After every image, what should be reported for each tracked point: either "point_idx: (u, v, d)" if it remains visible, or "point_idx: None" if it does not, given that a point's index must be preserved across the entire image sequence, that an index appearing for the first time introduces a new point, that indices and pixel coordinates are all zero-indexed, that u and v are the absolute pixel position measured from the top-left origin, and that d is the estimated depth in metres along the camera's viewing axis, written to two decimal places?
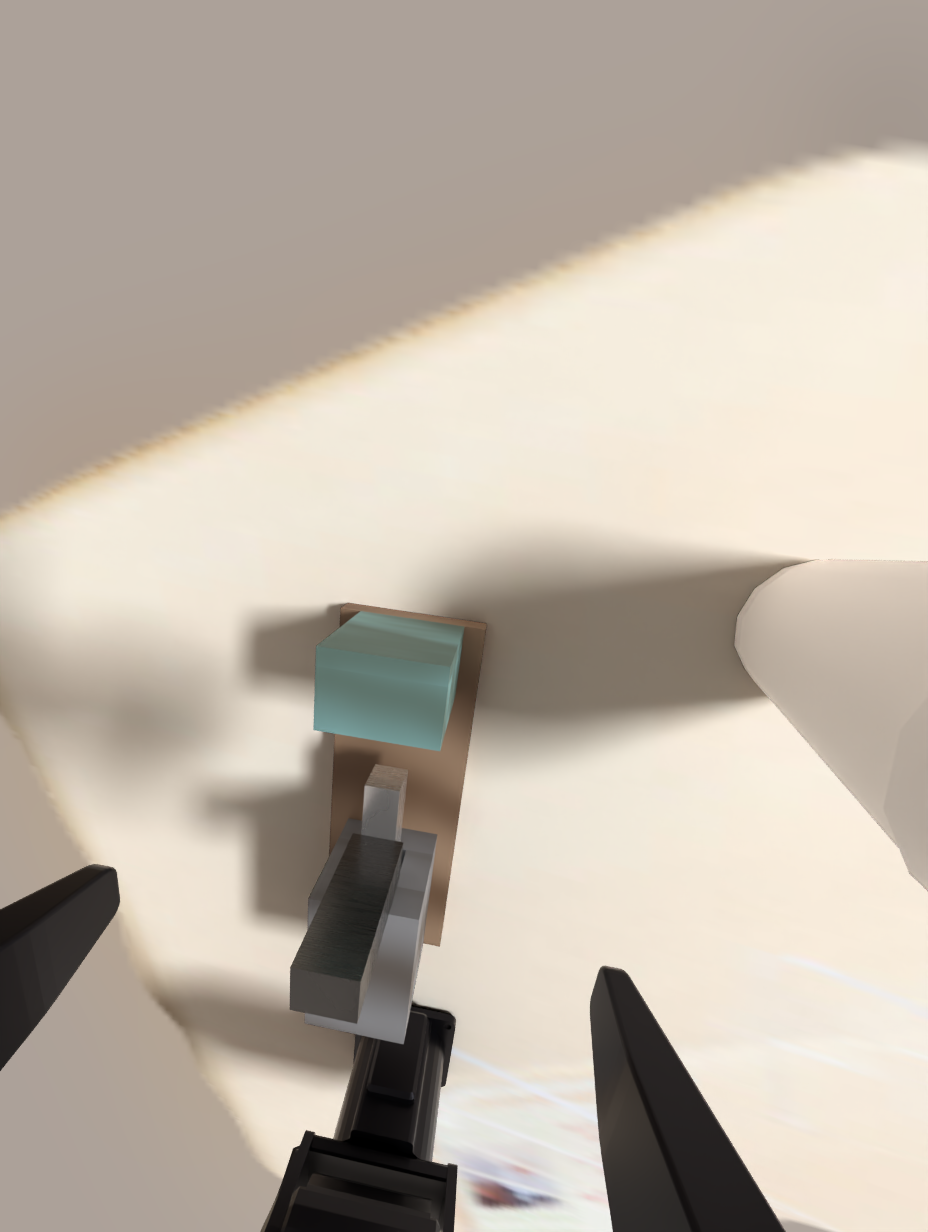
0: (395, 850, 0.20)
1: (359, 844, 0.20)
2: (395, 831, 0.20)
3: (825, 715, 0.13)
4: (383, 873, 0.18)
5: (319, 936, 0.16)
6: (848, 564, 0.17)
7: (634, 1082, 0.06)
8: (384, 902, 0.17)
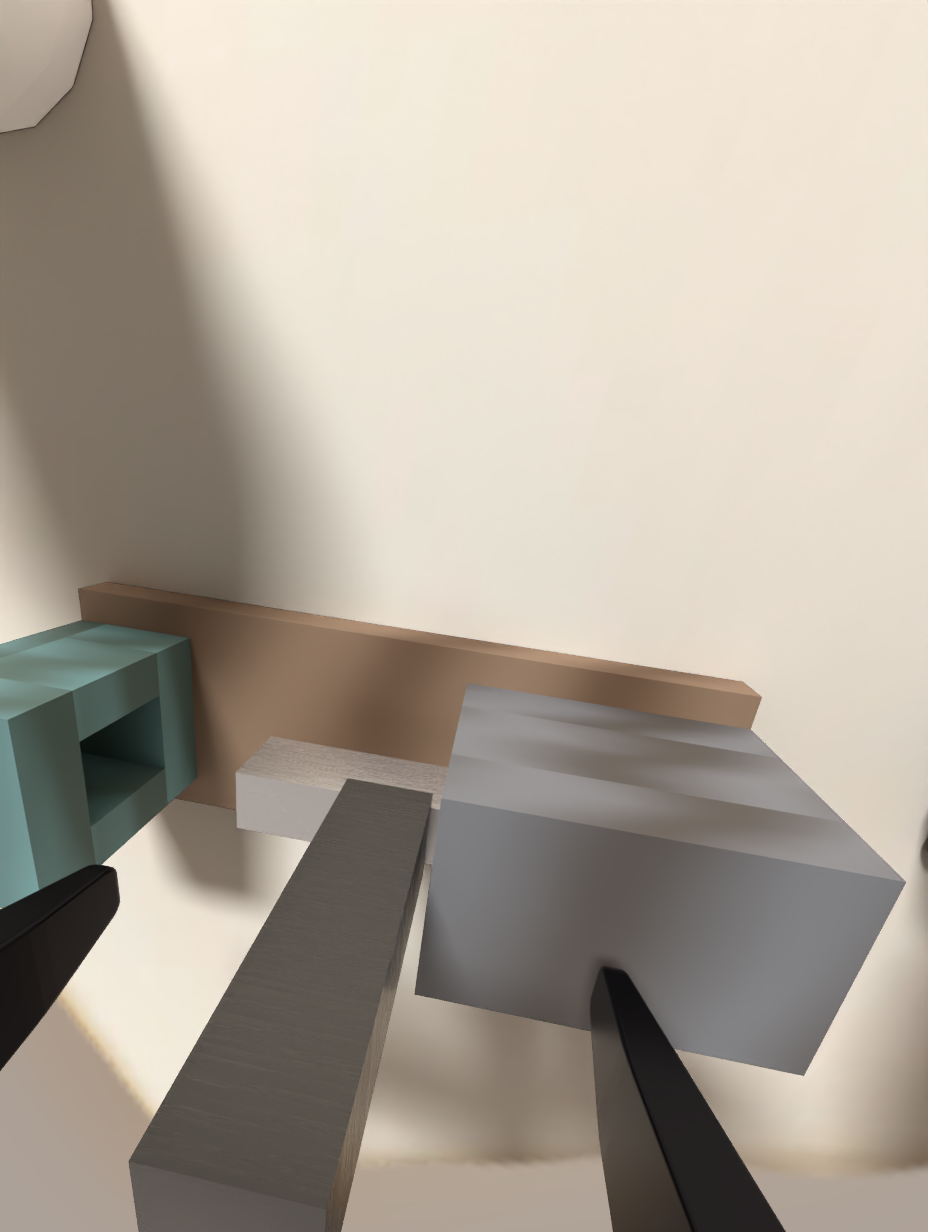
0: None
1: None
2: (328, 788, 0.10)
3: None
4: None
5: None
6: None
7: (634, 1081, 0.06)
8: (282, 897, 0.07)
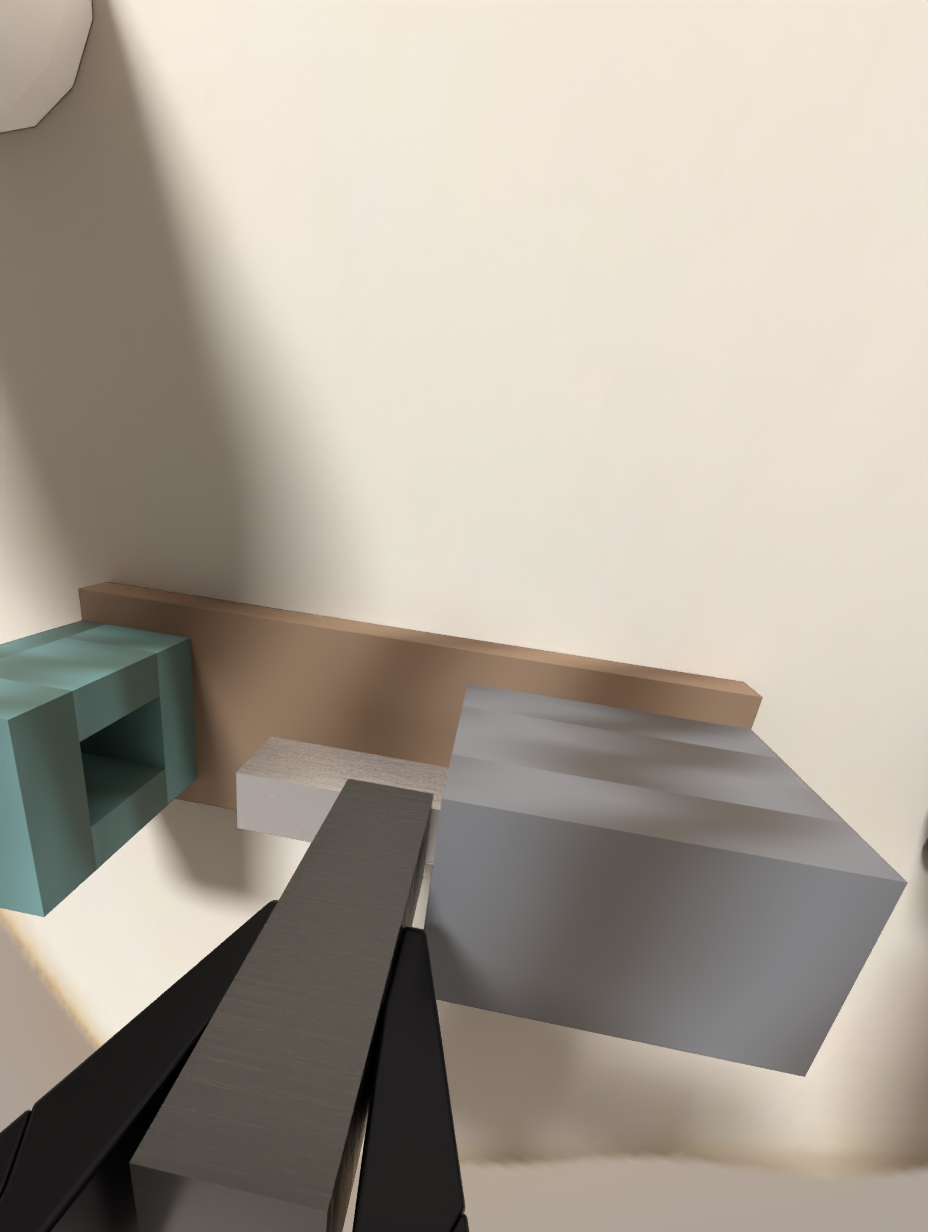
0: None
1: None
2: (329, 788, 0.10)
3: None
4: None
5: None
6: None
7: (381, 1027, 0.06)
8: (283, 898, 0.07)
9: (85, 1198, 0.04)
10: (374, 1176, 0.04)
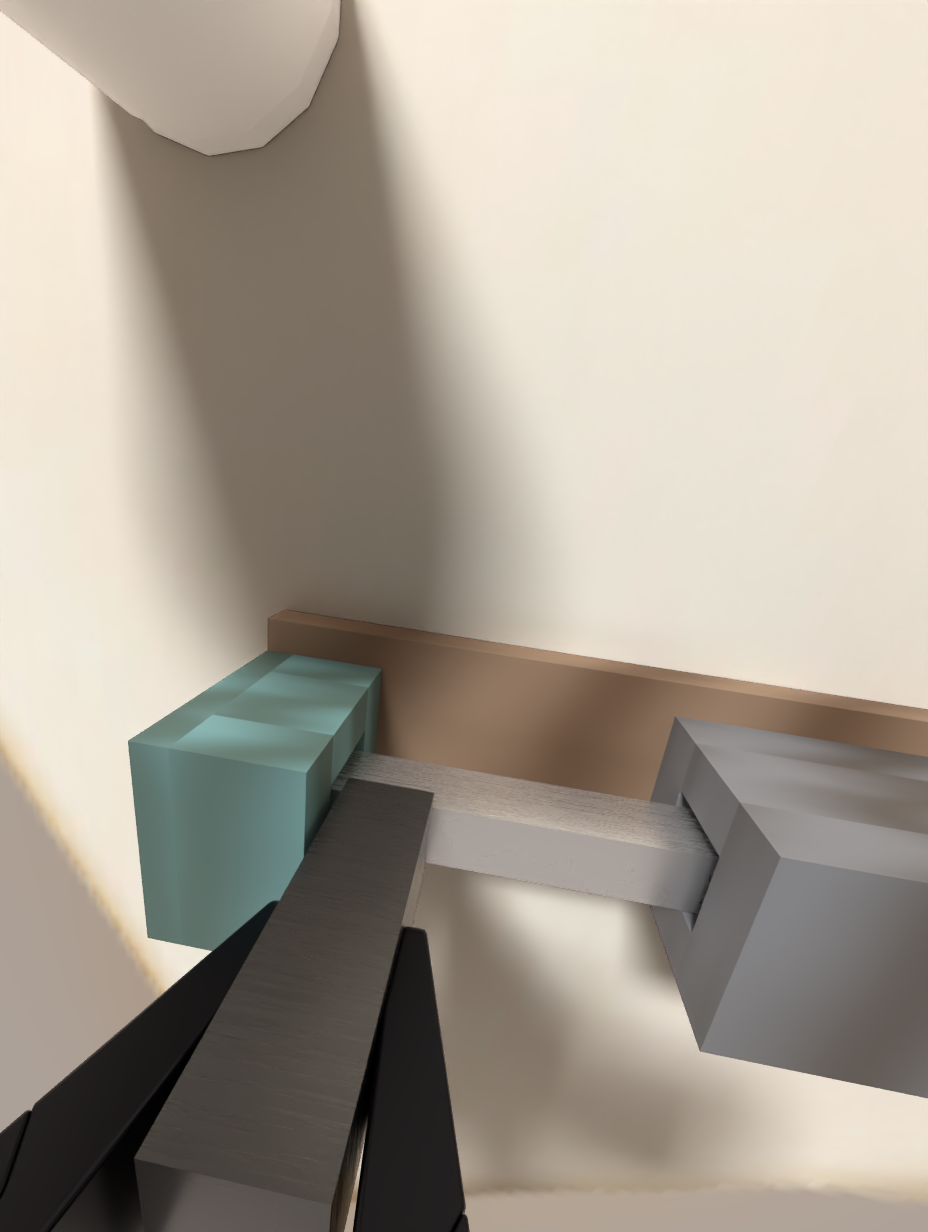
0: None
1: None
2: None
3: None
4: None
5: None
6: None
7: (381, 1027, 0.06)
8: (285, 896, 0.07)
9: (85, 1198, 0.04)
10: (375, 1176, 0.04)
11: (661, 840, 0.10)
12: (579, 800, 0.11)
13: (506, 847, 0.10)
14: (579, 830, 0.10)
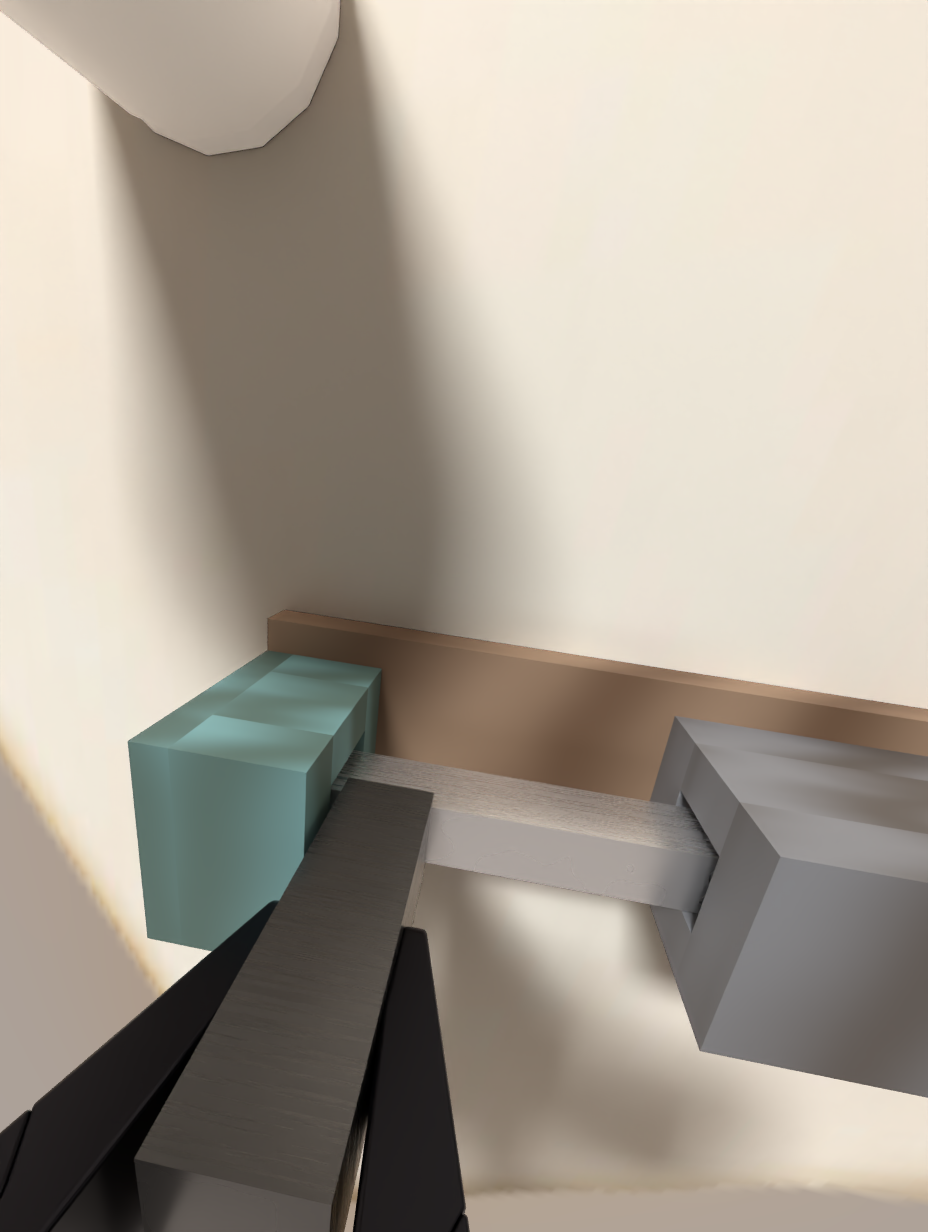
0: None
1: None
2: None
3: None
4: None
5: None
6: None
7: (381, 1027, 0.06)
8: (285, 896, 0.07)
9: (85, 1198, 0.04)
10: (375, 1176, 0.04)
11: (661, 839, 0.10)
12: (578, 800, 0.11)
13: (506, 847, 0.10)
14: (579, 830, 0.10)
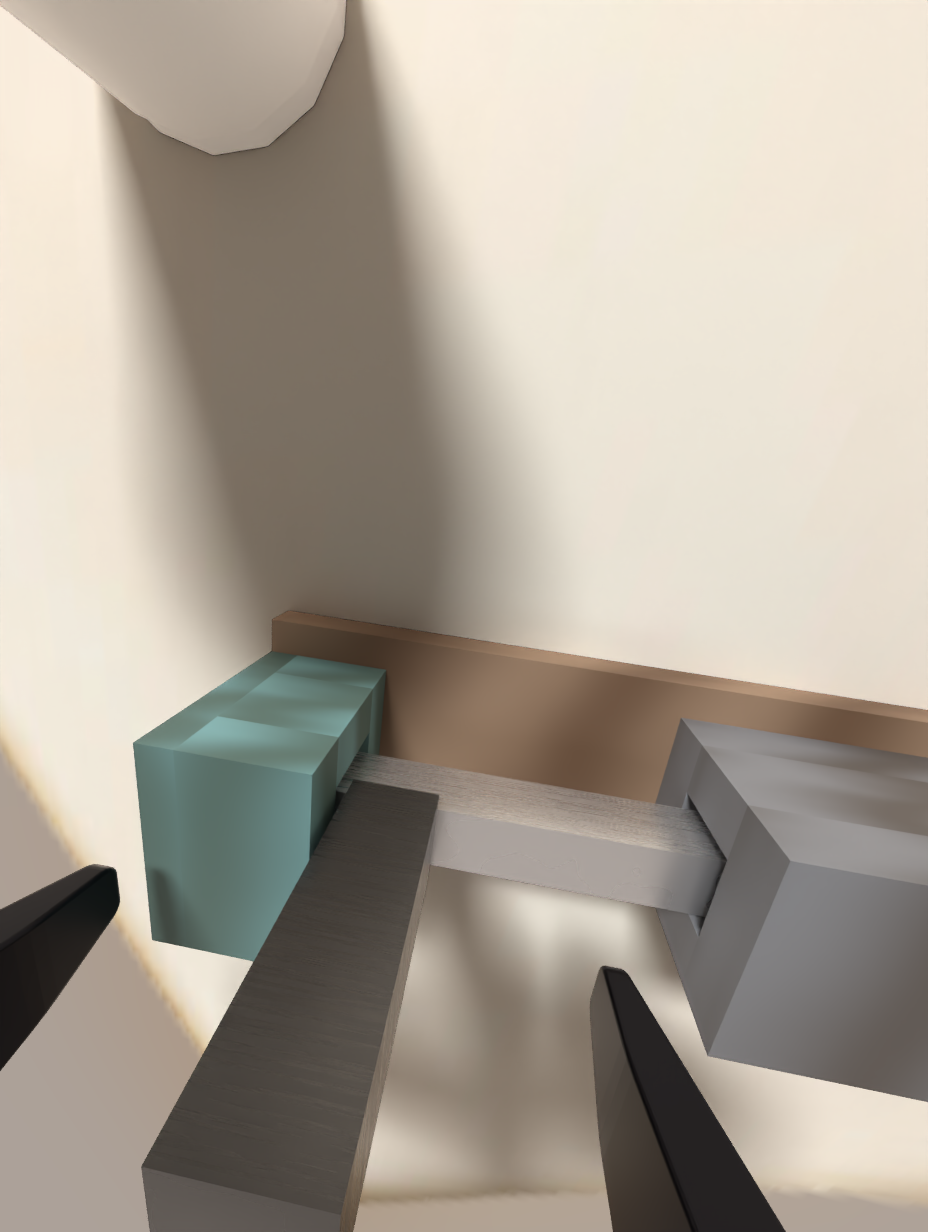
0: None
1: None
2: None
3: None
4: None
5: None
6: None
7: (634, 1082, 0.06)
8: (291, 899, 0.07)
9: None
10: None
11: (668, 842, 0.10)
12: (584, 802, 0.11)
13: (511, 850, 0.10)
14: (585, 832, 0.10)
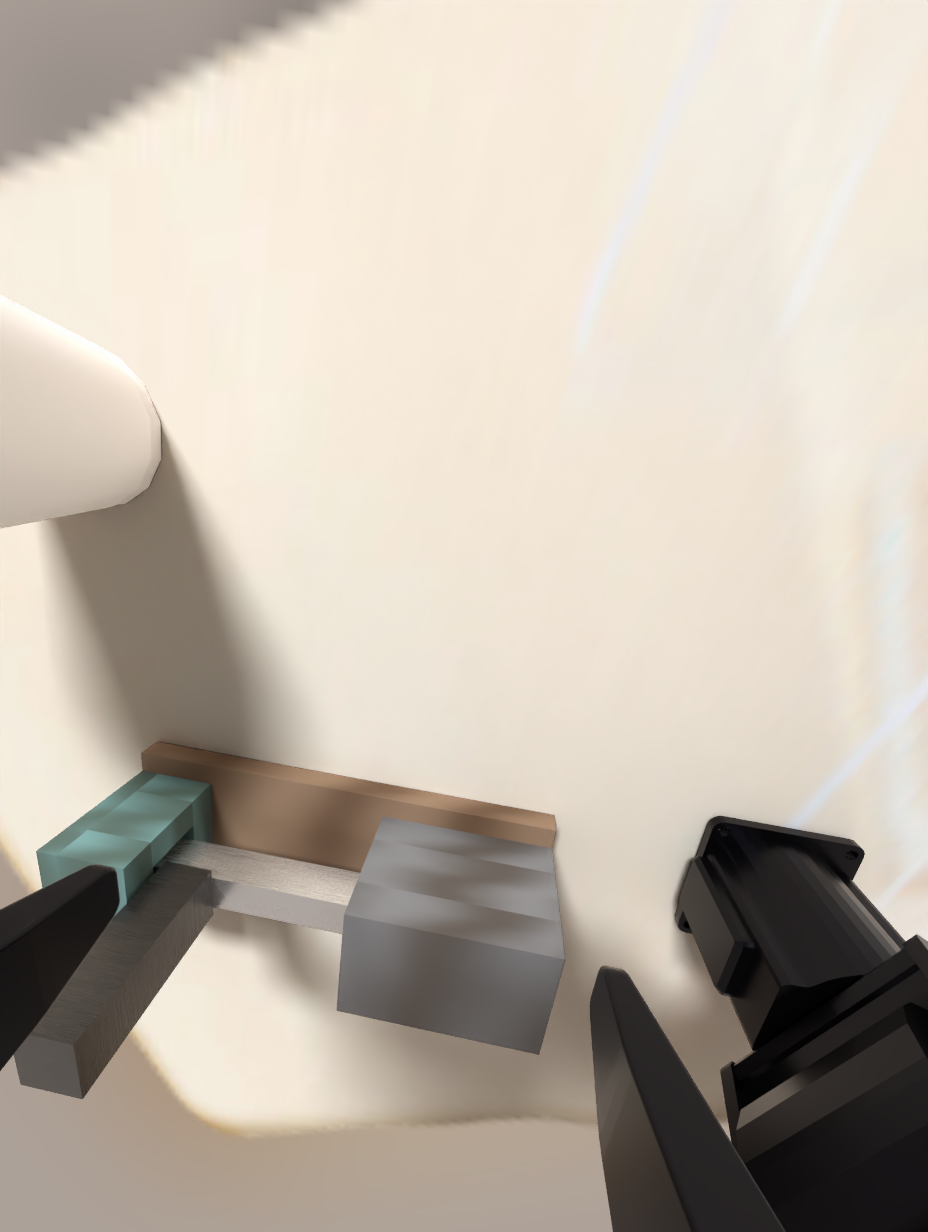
0: None
1: None
2: (157, 865, 0.18)
3: None
4: None
5: None
6: None
7: (634, 1082, 0.06)
8: None
9: None
10: None
11: (336, 897, 0.18)
12: (305, 871, 0.19)
13: (253, 900, 0.18)
14: (291, 891, 0.18)
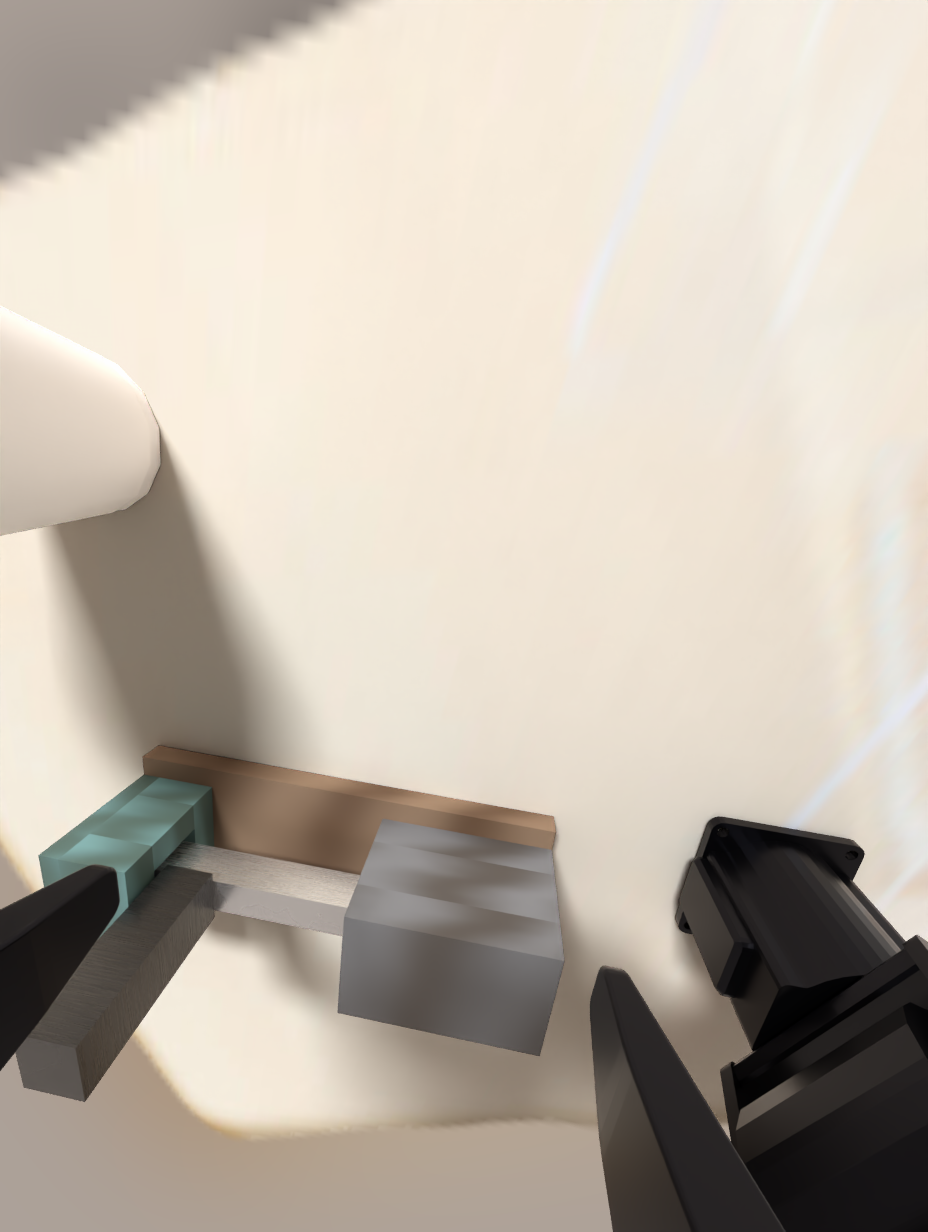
0: None
1: None
2: (159, 869, 0.19)
3: None
4: None
5: None
6: None
7: (634, 1082, 0.06)
8: (103, 935, 0.15)
9: None
10: None
11: (337, 899, 0.18)
12: (306, 873, 0.19)
13: (254, 903, 0.18)
14: (292, 894, 0.18)
